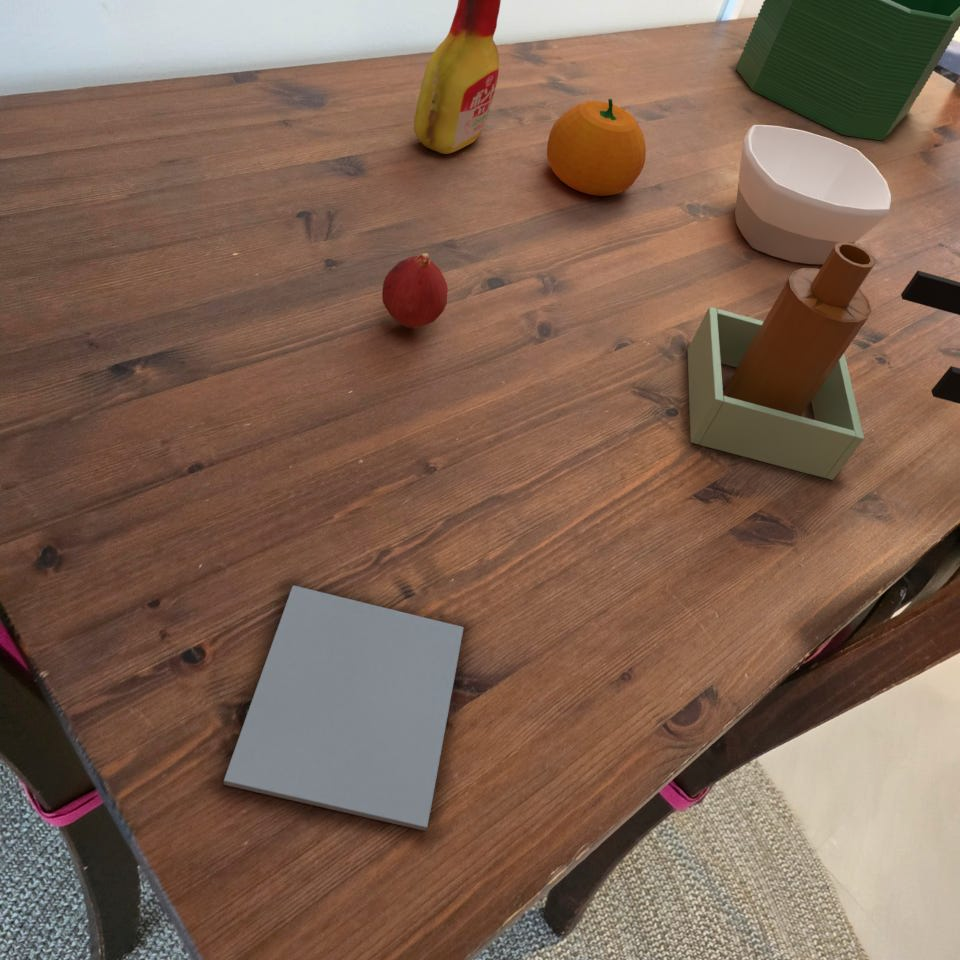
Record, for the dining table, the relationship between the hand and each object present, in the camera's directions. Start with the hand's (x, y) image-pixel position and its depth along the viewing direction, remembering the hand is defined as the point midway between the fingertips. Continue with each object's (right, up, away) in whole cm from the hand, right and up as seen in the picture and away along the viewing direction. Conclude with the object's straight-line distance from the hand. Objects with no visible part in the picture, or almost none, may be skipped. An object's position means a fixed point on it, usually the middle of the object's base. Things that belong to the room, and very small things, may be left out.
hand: (924, 330), depth 76 cm
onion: (-45, +1, +6) cm, 45 cm away
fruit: (-25, +23, +32) cm, 47 cm away
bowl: (-1, +17, +33) cm, 38 cm away
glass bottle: (-12, -6, +9) cm, 16 cm away
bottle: (-42, +28, +31) cm, 59 cm away
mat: (-46, -27, -20) cm, 57 cm away
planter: (+17, +50, +68) cm, 86 cm away
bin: (-12, -6, +9) cm, 16 cm away
